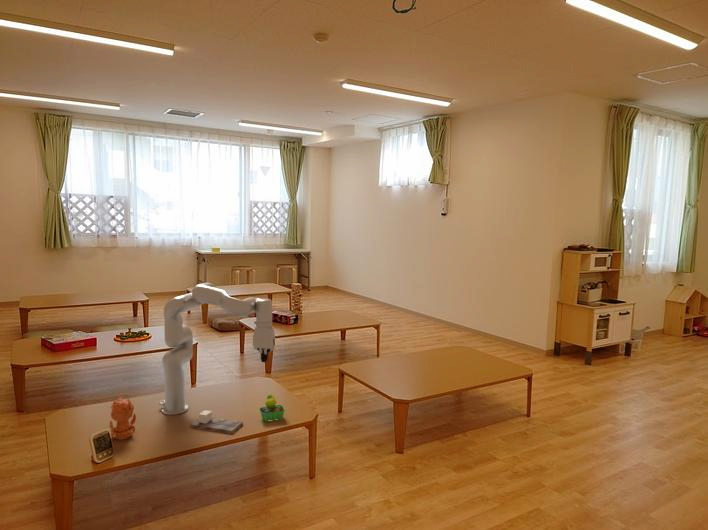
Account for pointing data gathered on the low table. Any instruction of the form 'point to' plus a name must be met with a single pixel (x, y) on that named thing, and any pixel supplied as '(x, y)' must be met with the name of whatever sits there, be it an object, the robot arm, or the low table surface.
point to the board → (218, 425)
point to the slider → (205, 416)
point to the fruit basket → (271, 409)
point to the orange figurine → (122, 419)
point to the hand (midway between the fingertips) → (264, 361)
